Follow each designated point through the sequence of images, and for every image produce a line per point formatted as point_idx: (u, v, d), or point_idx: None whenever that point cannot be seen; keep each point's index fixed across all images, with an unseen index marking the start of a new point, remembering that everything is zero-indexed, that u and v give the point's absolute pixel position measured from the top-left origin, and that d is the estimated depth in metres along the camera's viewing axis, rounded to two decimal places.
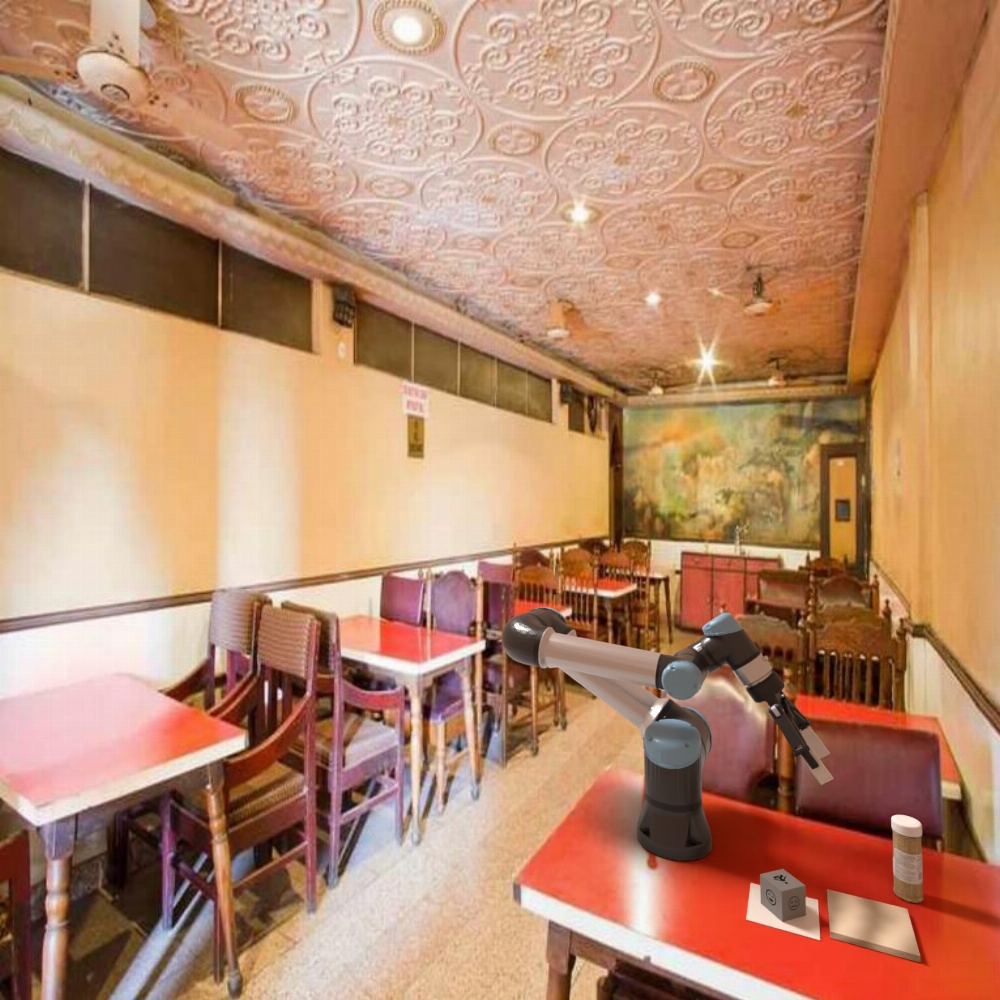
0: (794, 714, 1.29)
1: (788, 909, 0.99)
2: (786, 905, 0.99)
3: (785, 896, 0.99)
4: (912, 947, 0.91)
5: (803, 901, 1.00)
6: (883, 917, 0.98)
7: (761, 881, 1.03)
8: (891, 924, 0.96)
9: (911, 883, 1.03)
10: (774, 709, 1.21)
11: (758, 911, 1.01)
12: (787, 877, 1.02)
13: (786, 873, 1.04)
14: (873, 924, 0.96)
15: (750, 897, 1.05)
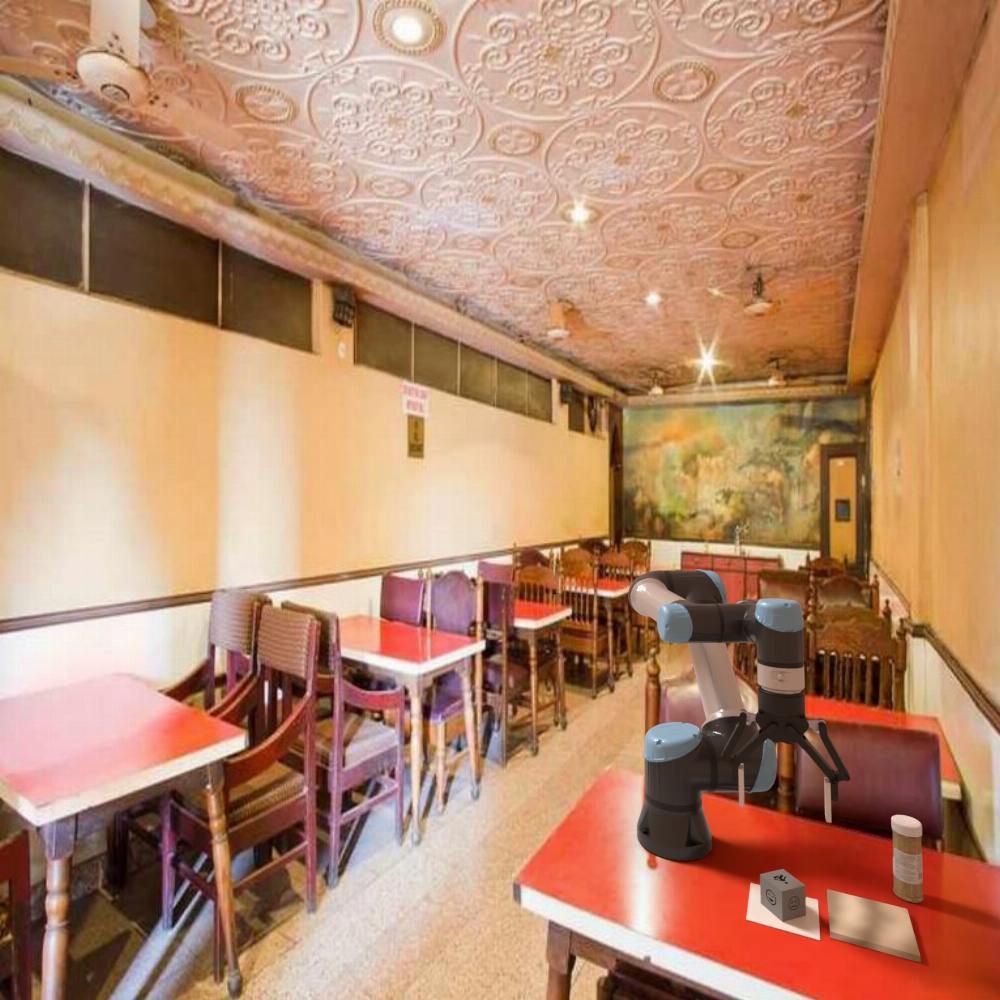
0: (807, 753, 1.00)
1: (788, 909, 0.99)
2: (786, 905, 0.99)
3: (785, 896, 0.99)
4: (912, 947, 0.91)
5: (803, 901, 1.00)
6: (883, 917, 0.98)
7: (761, 881, 1.03)
8: (891, 924, 0.96)
9: (911, 883, 1.03)
10: (739, 713, 1.06)
11: (758, 911, 1.01)
12: (787, 877, 1.02)
13: (786, 873, 1.04)
14: (873, 924, 0.96)
15: (750, 897, 1.05)
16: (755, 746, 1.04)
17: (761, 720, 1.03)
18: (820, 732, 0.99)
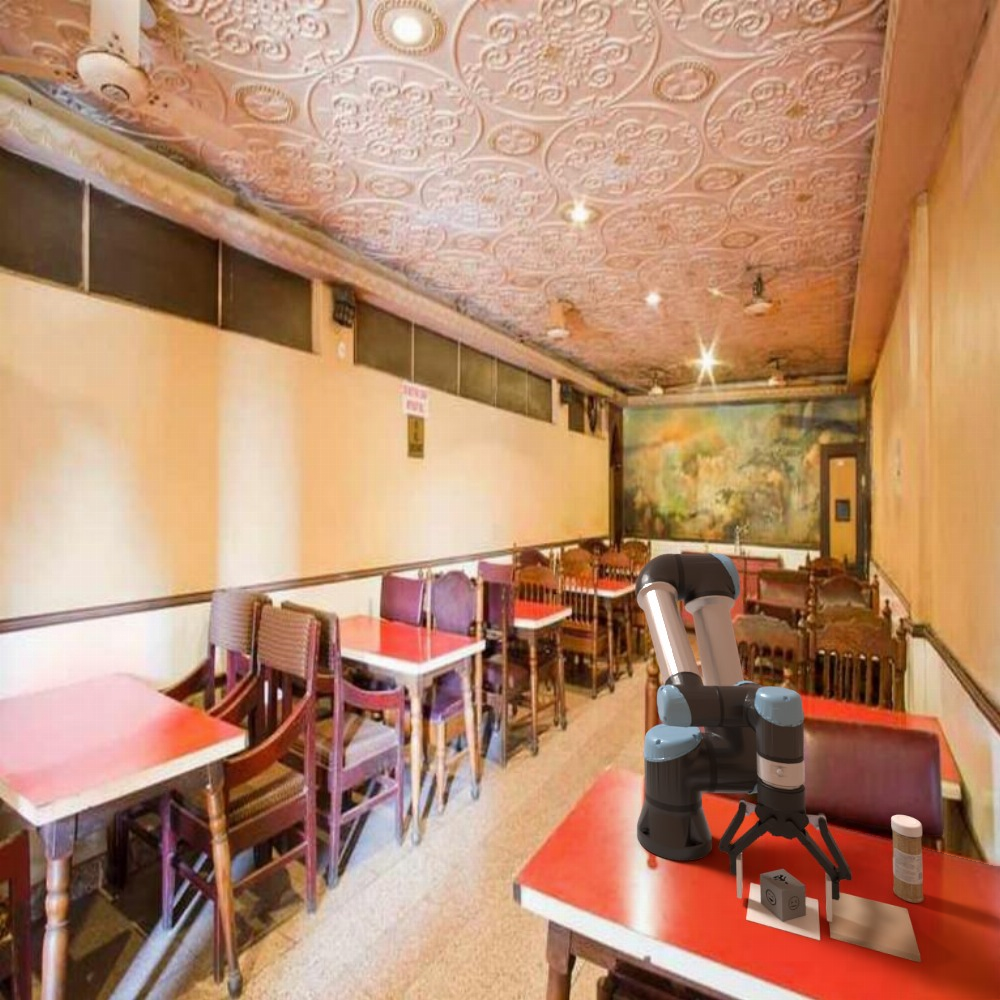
0: None
1: (788, 909, 0.99)
2: (786, 905, 0.99)
3: (785, 896, 0.99)
4: (912, 947, 0.91)
5: (803, 901, 1.00)
6: (883, 917, 0.98)
7: (761, 881, 1.03)
8: (891, 924, 0.96)
9: (911, 883, 1.03)
10: (739, 803, 1.05)
11: (758, 911, 1.01)
12: (787, 877, 1.02)
13: (786, 873, 1.04)
14: (873, 924, 0.96)
15: (750, 897, 1.05)
16: (754, 838, 1.02)
17: (760, 812, 1.02)
18: (820, 829, 0.98)
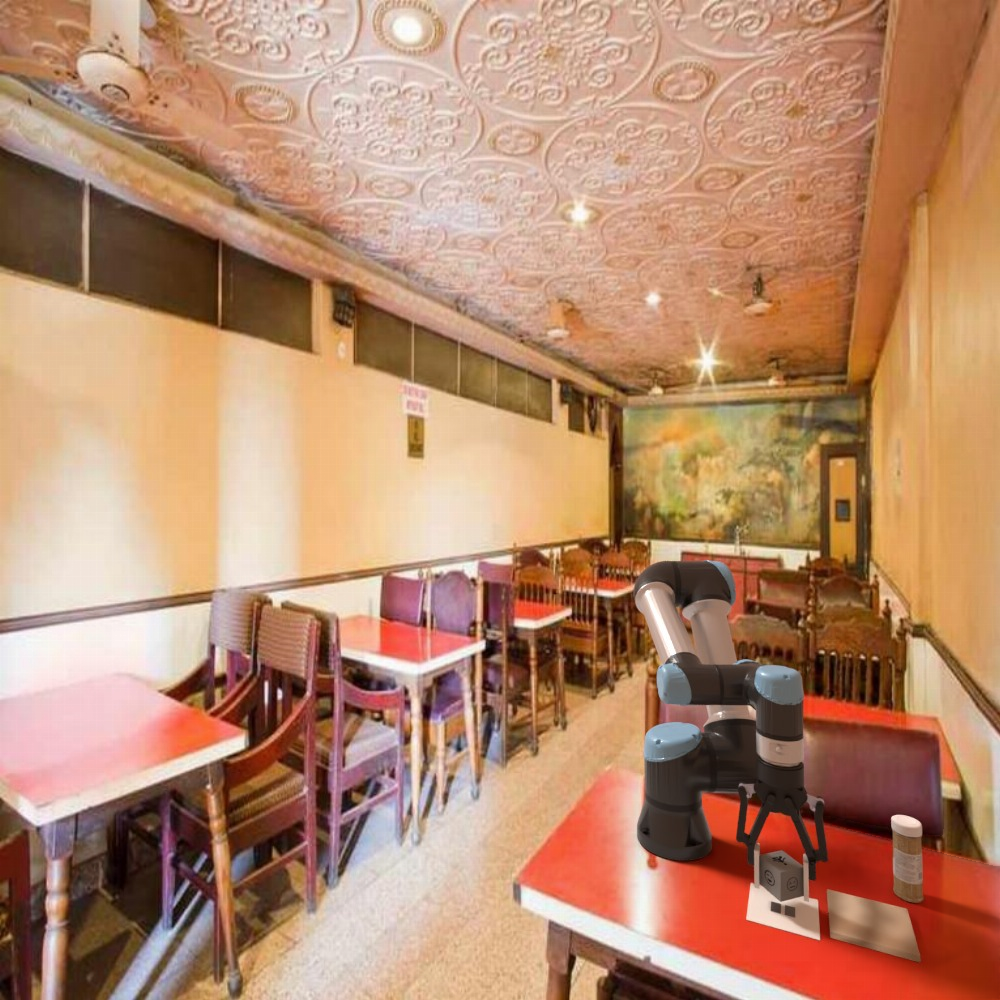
0: (796, 827, 1.00)
1: (786, 890, 0.99)
2: (785, 885, 0.99)
3: (784, 877, 0.99)
4: (912, 947, 0.91)
5: (801, 882, 1.00)
6: (883, 917, 0.98)
7: (760, 862, 1.03)
8: (891, 924, 0.96)
9: (911, 883, 1.03)
10: (738, 788, 1.05)
11: (758, 911, 1.01)
12: (786, 858, 1.03)
13: (785, 854, 1.04)
14: (873, 924, 0.96)
15: (750, 897, 1.05)
16: (762, 821, 1.02)
17: (759, 790, 1.03)
18: (816, 810, 0.99)
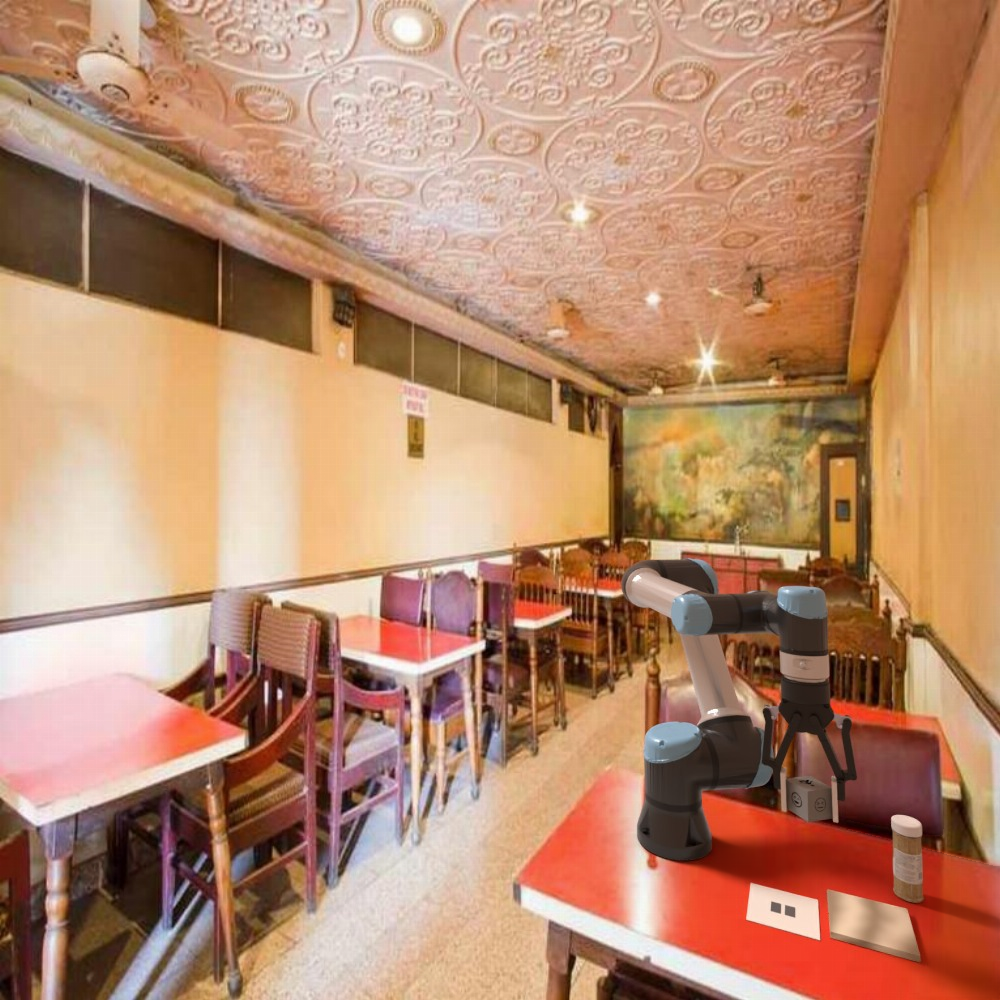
0: (823, 746, 0.99)
1: (814, 810, 0.97)
2: (812, 805, 0.97)
3: (811, 796, 0.97)
4: (912, 947, 0.91)
5: (830, 803, 0.98)
6: (883, 917, 0.98)
7: (786, 785, 1.02)
8: (891, 924, 0.96)
9: (911, 883, 1.03)
10: None
11: (758, 911, 1.01)
12: (813, 781, 1.01)
13: (813, 778, 1.02)
14: (873, 924, 0.96)
15: (750, 897, 1.05)
16: (788, 742, 1.01)
17: (784, 710, 1.01)
18: (843, 727, 0.97)
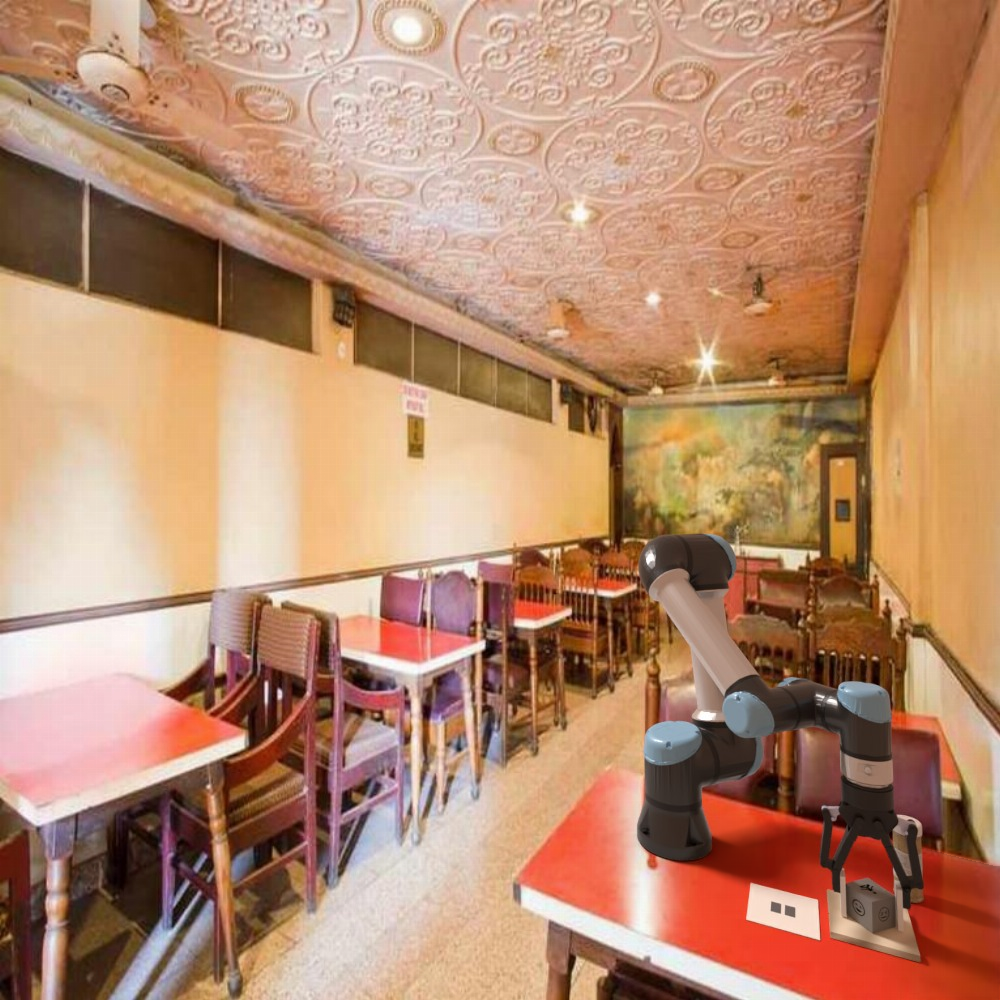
0: (887, 852, 0.96)
1: (878, 920, 0.95)
2: (876, 916, 0.95)
3: (875, 907, 0.95)
4: (912, 947, 0.91)
5: (893, 912, 0.96)
6: None
7: (846, 891, 0.99)
8: None
9: None
10: None
11: (758, 911, 1.01)
12: (874, 887, 0.98)
13: (872, 882, 0.99)
14: None
15: (750, 897, 1.05)
16: (849, 846, 0.98)
17: (845, 812, 0.98)
18: (909, 834, 0.94)
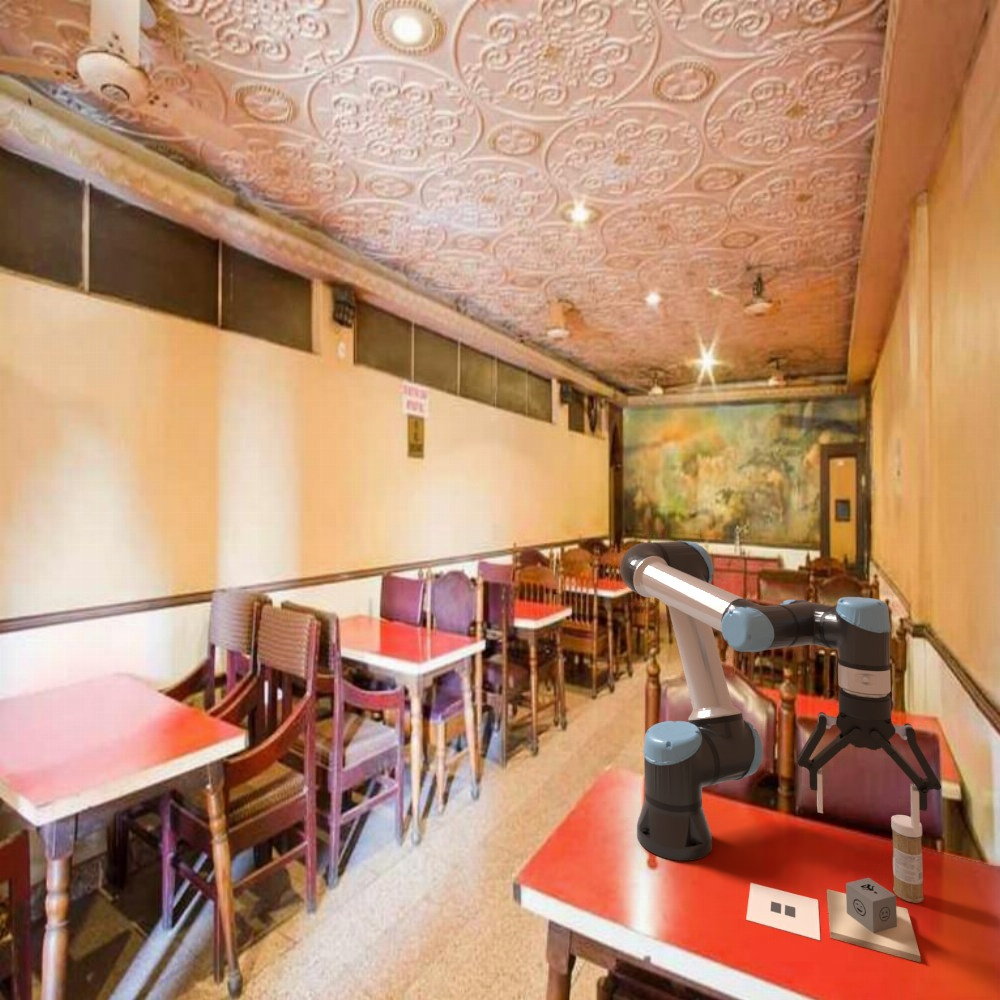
0: (894, 760, 0.96)
1: (879, 920, 0.95)
2: (877, 916, 0.95)
3: (876, 906, 0.95)
4: (912, 947, 0.91)
5: (894, 912, 0.96)
6: None
7: (847, 890, 0.99)
8: None
9: (911, 883, 1.03)
10: (818, 716, 1.01)
11: (758, 911, 1.01)
12: (875, 886, 0.98)
13: (873, 882, 0.99)
14: None
15: (750, 897, 1.05)
16: (836, 751, 0.99)
17: (843, 724, 0.99)
18: (908, 738, 0.95)
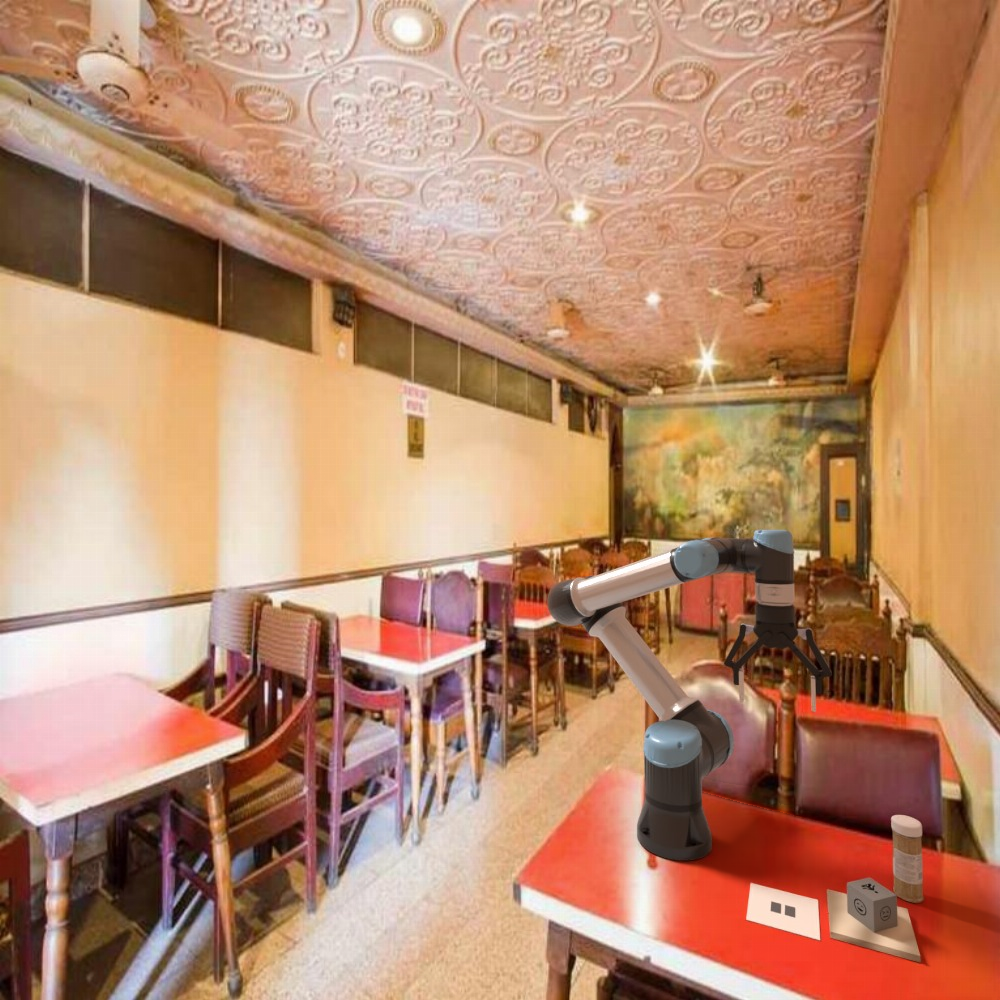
0: None
1: (880, 919, 0.95)
2: (878, 915, 0.95)
3: (877, 906, 0.95)
4: (912, 947, 0.91)
5: (895, 911, 0.96)
6: None
7: (848, 890, 0.99)
8: None
9: (911, 883, 1.03)
10: (740, 626, 1.26)
11: (758, 911, 1.01)
12: (876, 886, 0.98)
13: (874, 881, 1.00)
14: None
15: (750, 897, 1.05)
16: (753, 652, 1.24)
17: (758, 630, 1.23)
18: (807, 637, 1.19)
